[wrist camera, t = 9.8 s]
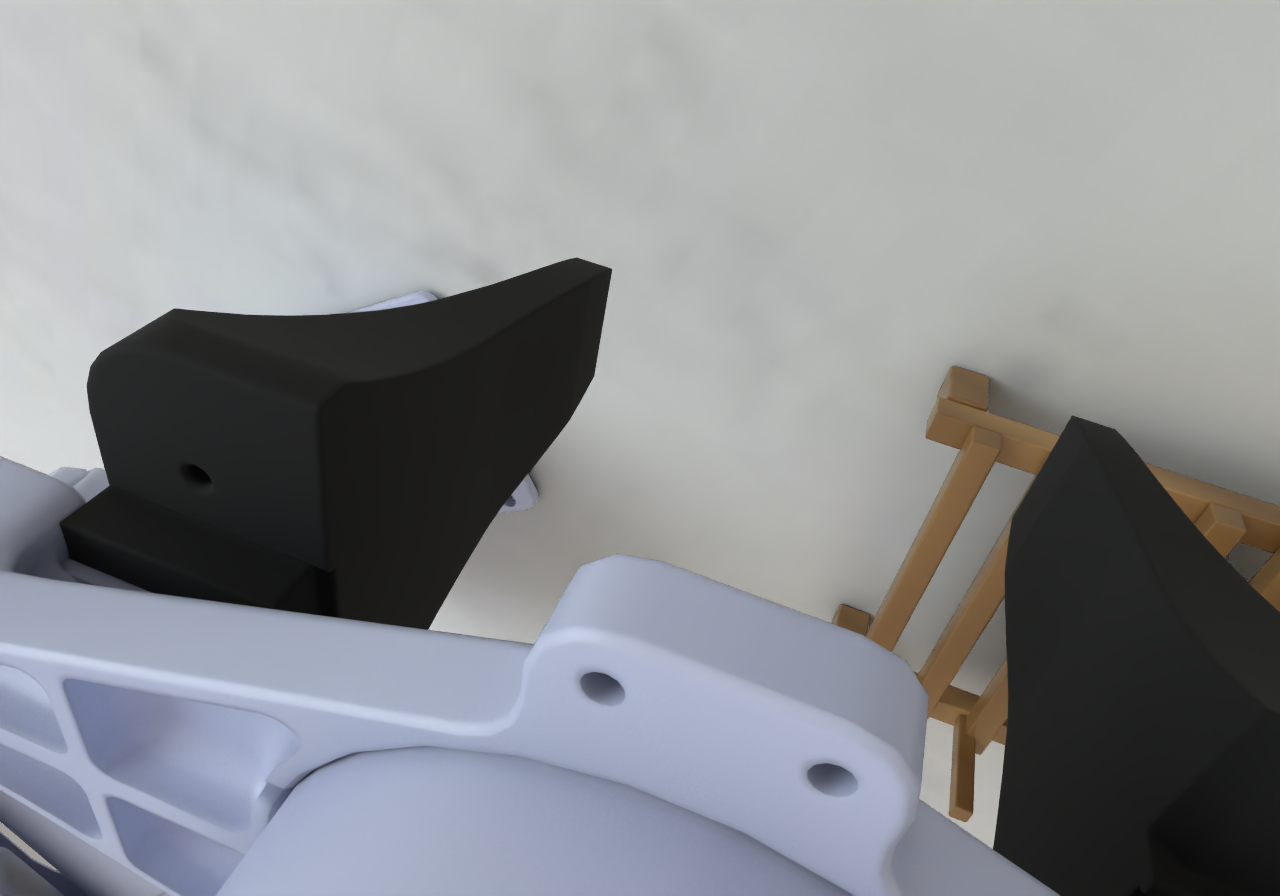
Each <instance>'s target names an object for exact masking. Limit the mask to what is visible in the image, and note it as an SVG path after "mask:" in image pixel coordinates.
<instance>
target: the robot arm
mask: <svg viewBox="0 0 1280 896" xmlns="http://www.w3.org/2000/svg"><path fill="white" fill-rule="evenodd" d="M611 273H612V269H611V268H608V267H605V266H601V265H598V264H595V263H592V262H589V261H586V260H583V259H579V258H573V259H568V260H564V261H561V262H558V263H555V264H552V265H549V266H546V267H543V268H540V269H537V270H534V271H531V272H528V273H525V274H522V275H519V276H516V277H513V278H510V279H507V280H504V281H501V282H498V283H495V284H492V285H489V286H486V287H482V288H478V289H475V290H471V291H468V292H464V293H460V294H457V295H453V296H450V297H446V298H442V299H437V298H436V297H435V296H434V295H433V294H431V293H430V292H427V291H417V292H414V293H410V294H407V295H404V296H400V297H397V298H394V299H390V300H387V301H384V302H380V303H377V304H374V305H370V306H367V307H364V308H360V309H357V310H354V311H350V312H347V313H341V314H330V315H303V316H274V315H243V314H231V313H218V312H206V311H194V310H184V309H173V310H171V311H169V312H168V313H166V314H164V315H163V316H161V317H159V318H158V319H156V320H154V321H152V322H151V323H149V324H147V325H146V326H144V327H142V328H141V329H139V330H137V331H136V332H134V333H132V334H131V335H129V336H127V337H126V338H124V339H122V340H121V341H119V342H117V343H115V344H114V345H112V346H110V347H109V348H107V349H105V350H104V351H102V352H101V353H100V354H99V356H98V357H97V358H96V360H95V361H94V362H93V364H92V365H91V367H90V372H89V377H88V382H87V393H88V401H89V409H90V414H91V418H92V422H93V426H94V429H95V433H96V437H97V441H98V445H99V448H100V452H101V456H102V460H103V464H104V468H105V470H104V469H102V468H94V469H92V470H89V471H86V470H85V469H80V468H69V467H62V468H59V469H57V470H56V471H54V472H52V473H50V474H49V475H47V474H44V473H42V472H39V471H37V470H34V469H32V468H29V467H27V466H24V465H22V464H19V463H17V462H14V461H12V460H9V459H6V458H4V457H1V456H0V822H2V823H3V824H4V825H5V826H6V827H8V828H9V829H10V830H11V831H12V832H13V833H15V834H16V835H17V836H18V837H19V838H20V839H22V840H23V841H24V842H25V843H26V844H28V845H29V846H30V847H31V848H32V849H34V850H35V851H36V852H37V853H38V854H39V855H41V856H42V857H43V858H44V859H45V860H46V861H48V862H49V863H50V864H51V865H52V866H54V867H55V868H56V869H57V870H58V871H57V870H54V869H52V868H50V867H48V866H46V865H44V864H42V863H40V862H38V861H36V860H34V859H33V858H31V857H30V856H29V855H28V854H26V853H25V852H24V851H23V850H22V849H20V848H19V847H18V846H17V845H16V844H15V843H13V842H12V841H11V840H10V839H9V838H7V837H6V836H5V835H4V834H3V833H1V832H0V896H1280V612H1279V611H1278V610H1277V609H1276V608H1275V607H1274V606H1273V605H1271V604H1270V603H1269V602H1268V601H1267V600H1266V599H1265V598H1264V597H1263V596H1262V595H1261V594H1260V593H1258V592H1257V591H1256V590H1255V589H1254V588H1253V587H1252V586H1251V585H1250V584H1249V583H1248V582H1247V581H1246V580H1245V579H1244V578H1243V577H1242V576H1241V575H1240V574H1239V573H1238V572H1237V571H1236V570H1235V569H1234V568H1233V567H1232V566H1231V565H1230V564H1229V563H1228V562H1227V560H1226V559H1225V558H1224V557H1223V556H1222V555H1221V554H1220V553H1219V552H1218V551H1217V550H1216V549H1215V547H1214V546H1213V545H1212V544H1211V543H1210V542H1209V541H1208V540H1207V539H1206V538H1205V536H1204V535H1203V534H1202V533H1201V532H1200V531H1199V530H1198V528H1197V527H1196V526H1195V525H1194V524H1193V523H1192V521H1191V520H1190V519H1189V518H1188V517H1187V515H1186V514H1185V513H1184V512H1183V511H1182V509H1181V508H1180V507H1179V506H1178V504H1177V503H1176V502H1175V501H1174V500H1173V498H1172V497H1171V496H1170V495H1169V493H1168V492H1167V491H1166V490H1165V488H1164V487H1163V486H1162V485H1161V483H1160V482H1159V481H1158V480H1157V478H1156V477H1155V476H1154V474H1153V473H1152V472H1151V471H1150V469H1149V468H1148V467H1147V466H1146V464H1145V463H1144V462H1143V461H1142V459H1141V458H1140V457H1139V456H1138V454H1137V453H1136V452H1135V451H1134V449H1133V448H1132V447H1131V446H1130V445H1129V444H1128V442H1127V441H1126V440H1125V439H1124V438H1123V437H1122V436H1121V435H1120V434H1119V433H1118V432H1117V431H1116V430H1115V429H1112V428H1109V427H1106V426H1103V425H1100V424H1097V423H1094V422H1091V421H1087V420H1084V419H1081V418H1078V417H1075V416H1072V417H1071V419H1070V420H1069V422H1068V424H1067V425H1066V427H1065V429H1064V431H1063V432H1062V434H1061V436H1060V437H1059V439H1058V441H1057V442H1056V444H1055V446H1054V447H1053V449H1052V451H1051V453H1050V454H1049V456H1048V458H1047V459H1046V461H1045V463H1044V464H1043V466H1042V468H1041V470H1040V471H1039V473H1038V475H1037V476H1036V478H1035V480H1034V481H1033V483H1032V485H1031V486H1030V488H1029V490H1028V492H1027V493H1026V495H1025V497H1024V498H1023V500H1022V502H1021V503H1020V505H1019V507H1018V509H1017V510H1016V512H1015V514H1014V515H1013V517H1012V521H1011V527H1010V534H1009V541H1008V547H1007V556H1006V564H1005V619H1006V647H1007V675H1008V722H1007V733H1006V743H1005V753H1004V764H1003V774H1002V783H1001V791H1000V799H999V808H998V816H997V824H996V832H995V840H994V846H993V849H992V848H990V847H989V846H987V845H986V844H984V843H983V842H981V841H980V840H978V839H977V838H975V837H974V836H973V835H971V834H970V833H968V832H967V831H965V830H964V829H962V828H961V827H959V826H958V825H956V824H955V823H953V822H952V821H951V820H949V819H948V818H946V817H945V816H943V815H942V814H940V813H939V812H937V811H936V810H934V809H933V808H932V807H930V806H929V805H927V804H926V803H924V802H923V801H921V800H920V799H919V795H920V789H921V781H922V769H923V758H924V746H925V735H926V723H927V711H928V700H929V696H928V694H927V693H926V691H925V689H924V688H923V686H922V685H921V683H920V681H919V680H918V678H917V677H916V675H915V674H914V672H913V670H912V669H911V667H910V666H909V664H908V663H907V661H905V660H904V659H902V658H900V657H899V656H897V655H895V654H894V653H892V652H890V651H889V650H887V649H885V648H884V647H882V646H880V645H879V644H877V643H875V642H874V641H872V640H870V639H869V638H867V637H865V636H864V635H861V634H858V633H856V632H853V631H850V630H847V629H845V628H842V627H839V626H837V625H834V624H831V623H828V622H826V621H823V620H820V619H818V618H815V617H812V616H809V615H807V614H804V613H801V612H799V611H796V610H793V609H791V608H788V607H785V606H782V605H780V604H777V603H774V602H772V601H769V600H766V599H763V598H761V597H758V596H755V595H753V594H750V593H747V592H744V591H742V590H739V589H736V588H734V587H731V586H728V585H725V584H723V583H720V582H717V581H715V580H712V579H709V578H707V577H704V576H701V575H698V574H696V573H693V572H690V571H688V570H685V569H682V568H679V567H677V566H674V565H671V564H669V563H666V562H663V561H658V560H652V559H645V558H639V557H633V556H627V555H621V554H615V555H612V556H608V557H605V558H602V559H599V560H596V561H593V562H590V563H587V564H584V565H581V566H580V568H579V569H578V571H577V572H576V574H575V575H574V577H573V579H572V580H571V582H570V583H569V585H568V587H567V588H566V590H565V591H564V593H563V595H562V597H561V598H560V600H559V602H558V604H557V605H556V607H555V609H554V611H553V612H552V614H551V616H550V618H549V619H548V621H547V623H546V625H545V626H544V628H543V630H542V632H541V633H540V635H539V637H538V639H537V640H536V642H535V644H529V643H522V642H514V641H507V640H499V639H492V638H484V637H477V636H470V635H462V634H455V633H447V632H440V631H432V630H428V629H429V627H430V625H431V623H432V622H433V620H434V618H435V616H436V614H437V613H438V611H439V609H440V607H441V606H442V604H443V602H444V600H445V599H446V597H447V595H448V593H449V592H450V590H451V588H452V586H453V585H454V583H455V581H456V579H457V578H458V576H459V574H460V572H461V571H462V569H463V567H464V566H465V564H466V562H467V561H468V559H469V557H470V556H471V554H472V552H473V551H474V549H475V547H476V546H477V544H478V542H479V541H480V539H481V538H482V536H483V534H484V533H485V531H486V529H487V528H488V526H489V525H490V523H491V522H492V520H493V519H494V517H495V516H496V515H497V514H500V513H507V512H514V511H521V510H528V509H530V508H532V507H533V506H534V504H535V503H536V501H537V500H538V492H537V490H536V488H535V486H534V484H533V482H532V480H531V478H530V476H529V474H528V473H529V472H530V471H531V469H532V468H533V467H534V466H535V464H536V463H537V462H538V460H539V459H540V458H541V457H542V455H543V454H544V453H545V452H546V450H547V449H548V448H549V446H550V445H551V444H552V442H553V441H554V440H555V439H556V437H557V436H558V435H559V433H560V432H561V431H562V429H563V428H564V427H565V425H566V424H567V423H568V421H569V420H570V418H571V417H572V415H573V413H574V411H575V410H576V408H577V406H578V405H579V403H580V401H581V399H582V397H583V396H584V394H585V392H586V390H587V388H588V386H589V385H590V383H591V381H592V379H593V377H594V374H595V368H596V362H597V356H598V350H599V344H600V338H601V332H602V326H603V320H604V314H605V308H606V303H607V297H608V291H609V285H610V279H611ZM510 496H512V497H513V498H514V499H515V500H514V499H511V498H509V497H510Z"/></svg>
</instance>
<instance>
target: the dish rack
mask: <svg viewBox="0 0 1280 896" xmlns="http://www.w3.org/2000/svg"><path fill="white" fill-rule="evenodd" d="M988 393H989V378H988V377H987V376H985V375H982V374H978V373H975V372H972V371H969V370H966V369H963V368H960V367H956V366H952V367H951V368H950V369H949V371H948V374H947V376H946V378H945V380H944V382H943V384H942V386H941V389H940V391H939V393H938V398H937V401H936V404H935V406H934V408H933V410H932V412H931V414H930V416H929V419H928V421H927V428H926V438H927V439H930V440H933V441H936V442H939V443H942V444H945V445H948V446H951V447H954V448H957V449H960V451H959V453H958V455H957V457H956V459H955V461H954V463H953V465H952V467H951V469H950V471H949V473H948V475H947V477H946V479H945V481H944V483H943V485H942V487H941V489H940V491H939V493H938V495H937V496H936V498H935V500H934V502H933V504H932V506H931V508H930V510H929V512H928V514H927V516H926V518H925V520H924V522H923V524H922V526H921V528H920V530H919V532H918V534H917V536H916V538H915V540H914V542H913V544H912V546H911V548H910V550H909V552H908V554H907V556H906V558H905V560H904V562H903V563H902V565H901V567H900V569H899V571H898V573H897V575H896V577H895V579H894V581H893V583H892V585H891V587H890V589H889V591H888V593H887V595H886V597H885V599H884V601H883V603H882V605H881V607H880V609H879V611H878V613H877V615H876V617H875V619H874V621H873V623H872V625H871V627H870V629H869V630H868V626H869V620H870V615H869V614H867V613H865V612H862V611H859V610H856V609H854V608H851V607H848V606H845V605H843V604H841V605H840V606H839V608H838V610H837V612H836V614H835V617H834V619H833V621H832V623H831V624H834V625H837V626H839V627H842V628H845V629H847V630H850V631H853V632H856V633H858V634H861V635H864V636H865V637H867V638H869V639H870V640H872V641H874V642H875V643H877V644H879V645H880V646H882V647H884V648H885V649H887V650H889V651H890V652H892V650H893V648H894V646H895V645H896V643H897V641H898V639H899V637H900V635H901V634H902V632H903V630H904V628H905V626H906V624H907V623H908V621H909V619H910V617H911V615H912V613H913V611H914V610H915V608H916V606H917V604H918V602H919V600H920V599H921V597H922V595H923V593H924V591H925V589H926V588H927V586H928V584H929V582H930V580H931V578H932V577H933V575H934V573H935V571H936V569H937V567H938V566H939V564H940V562H941V560H942V558H943V556H944V555H945V553H946V551H947V549H948V547H949V545H950V544H951V542H952V540H953V538H954V536H955V534H956V533H957V531H958V529H959V527H960V525H961V523H962V521H963V520H964V518H965V516H966V514H967V512H968V510H969V509H970V507H971V505H972V503H973V501H974V499H975V498H976V496H977V494H978V492H979V490H980V488H981V487H982V485H983V483H984V481H985V479H986V477H987V476H988V474H989V472H990V470H991V468H992V466H993V465H994V463H995V461H996V462H999V463H1002V464H1005V465H1008V466H1011V467H1014V468H1017V469H1020V470H1023V471H1026V472H1029V473H1032V474H1035V477H1034V479H1033V480H1032V482H1031V484H1030V485H1029V487H1028V489H1027V491H1026V492H1025V494H1024V496H1023V497H1022V499H1021V501H1020V502H1019V504H1018V506H1017V508H1016V509H1015V511H1014V513H1013V514H1012V516H1011V518H1010V519H1009V521H1008V523H1007V525H1006V526H1005V528H1004V530H1003V531H1002V533H1001V535H1000V536H999V538H998V540H997V542H996V543H995V545H994V547H993V548H992V550H991V552H990V553H989V555H988V557H987V559H986V560H985V562H984V564H983V565H982V567H981V569H980V570H979V572H978V574H977V576H976V577H975V579H974V581H973V582H972V584H971V586H970V587H969V589H968V591H967V593H966V594H965V596H964V598H963V599H962V601H961V603H960V604H959V606H958V608H957V610H956V611H955V613H954V615H953V616H952V618H951V620H950V621H949V623H948V625H947V627H946V628H945V630H944V632H943V633H942V635H941V637H940V638H939V640H938V642H937V644H936V645H935V647H934V649H933V650H932V652H931V654H930V655H929V657H928V659H927V661H926V662H925V664H924V666H923V667H922V669H921V671H920V672H919V674H918V673H916V672H914V674H915V675H916V677H917V678H918V680H919V681H920V683H921V685H922V686H923V688H924V689H925V691H926V693H927V694H928V696H929V700H928V711H927V719H928V718H929V717H932V718H934V719H937V720H940V721H942V722H945V723H948V724H950V725H953V726H954V733H953V751H952V769H951V787H950V804H949V816H950V817H953V818H956V819H958V820H961V821H963V822H967V821H968V820H969V818H970V817H971V816H972V814H973V801H974V769H975V753H976V754H979V755H981V754H982V752H983V751H984V750H985V748H986V747H987V746H988V744H989V743H990V741H991V740H993V741H995V742H998V743H1000V744H1003V745H1005V743H1006V733H1007V722H1008V675H1007V658H1006V660H1005V661H1004V663H1003V664H1002V666H1001V667H1000V669H999V670H998V672H997V673H996V675H995V676H994V678H993V679H992V681H991V682H990V684H989V685H988V686H987V688H986V689H985V691H984V692H983V694H982V695H981V697H980V696H977V695H975V694H972V693H969V692H967V691H964V690H961V689H959V688H956V687H953V686H951V685H950V683H951V681H952V680H953V678H954V677H955V675H956V673H957V672H958V670H959V669H960V667H961V665H962V664H963V662H964V661H965V659H966V658H967V656H968V654H969V653H970V651H971V650H972V648H973V646H974V645H975V643H976V642H977V640H978V638H979V637H980V635H981V634H982V632H983V631H984V629H985V627H986V626H987V624H988V623H989V621H990V619H991V618H992V616H993V615H994V613H995V612H996V610H997V608H998V607H999V605H1000V604H1001V602H1002V600H1003V599H1004V597H1005V564H1006V556H1007V547H1008V541H1009V534H1010V527H1011V521H1012V517H1013V515H1014V514H1015V512H1016V510H1017V509H1018V507H1019V505H1020V503H1021V502H1022V500H1023V498H1024V497H1025V495H1026V493H1027V492H1028V490H1029V488H1030V486H1031V485H1032V483H1033V481H1034V480H1035V478H1036V476H1037V475H1038V473H1039V471H1040V470H1041V468H1042V466H1043V464H1044V463H1045V461H1046V459H1047V458H1048V456H1049V454H1050V453H1051V451H1052V449H1053V447H1054V446H1055V444H1056V442H1057V441H1058V439H1059V437H1060V436H1059V435H1056V434H1053V433H1050V432H1047V431H1044V430H1041V429H1038V428H1035V427H1031V426H1028V425H1025V424H1022V423H1019V422H1016V421H1013V420H1010V419H1007V418H1004V417H1001V416H997V415H994V414H991V413H988V412H987V410H988ZM1145 464H1146V463H1145ZM1146 466H1147V467H1148V468H1149V469H1150V471H1151V472H1152V473H1153V474H1154V476H1155V477H1156V478H1157V480H1158V481H1159V482H1160V483H1161V485H1162V486H1163V487H1164V488H1165V490H1166V491H1167V492H1168V493H1169V495H1170V496H1171V497H1172V498H1173V500H1174V501H1175V502H1176V503H1177V504H1178V506H1179V507H1180V508H1181V509H1182V511H1183V512H1184V513H1185V514H1186V515H1187V517H1188V518H1189V519H1190V520H1191V521H1192V523H1193V524H1194V525H1195V526H1196V527H1197V528H1198V530H1199V531H1200V532H1201V533H1202V534H1203V535H1204V536H1205V538H1206V539H1207V540H1208V541H1209V542H1210V543H1211V544H1212V545H1213V546H1214V547H1215V549H1216V550H1217V551H1218V552H1219V553H1220V554H1221V555H1222V556H1223V557H1224V558H1225V557H1226V556H1227V555H1228V554H1229V552H1230V551H1231V550H1232V549H1233V548H1234V546H1235V545H1236V544H1237V543H1238V542H1241V543H1244V544H1247V545H1250V546H1253V547H1256V548H1259V549H1262V550H1265V551H1268V552H1271V553H1274V554H1273V555H1272V557H1271V558H1270V559H1269V560H1268V561H1267V562H1266V563H1265V565H1264V566H1263V567H1262V568H1261V569H1260V570H1259V572H1258V573H1257V574H1256V575H1255V576H1254V577H1253V578H1252V580H1251V581H1250V582H1249V584H1250V585H1251V586H1252V587H1253V588H1254V589H1255V590H1256V591H1257V592H1258V593H1260V594H1261V595H1262V596H1263V597H1264V598H1265V599H1266V600H1267V601H1268V602H1269V603H1270V604H1271V605H1273V606H1274V607H1275V608H1276V609H1277V610H1278V611H1279V612H1280V507H1279V506H1276V505H1273V504H1270V503H1267V502H1264V501H1261V500H1257V499H1254V498H1251V497H1248V496H1245V495H1242V494H1239V493H1236V492H1233V491H1230V490H1227V489H1223V488H1220V487H1217V486H1214V485H1211V484H1208V483H1205V482H1202V481H1199V480H1196V479H1192V478H1189V477H1186V476H1183V475H1180V474H1177V473H1174V472H1171V471H1168V470H1165V469H1161V468H1158V467H1155V466H1152V465H1149V464H1146Z"/></svg>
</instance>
